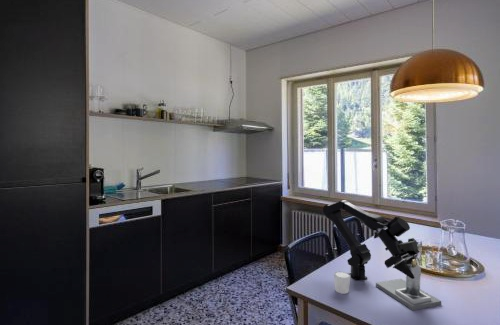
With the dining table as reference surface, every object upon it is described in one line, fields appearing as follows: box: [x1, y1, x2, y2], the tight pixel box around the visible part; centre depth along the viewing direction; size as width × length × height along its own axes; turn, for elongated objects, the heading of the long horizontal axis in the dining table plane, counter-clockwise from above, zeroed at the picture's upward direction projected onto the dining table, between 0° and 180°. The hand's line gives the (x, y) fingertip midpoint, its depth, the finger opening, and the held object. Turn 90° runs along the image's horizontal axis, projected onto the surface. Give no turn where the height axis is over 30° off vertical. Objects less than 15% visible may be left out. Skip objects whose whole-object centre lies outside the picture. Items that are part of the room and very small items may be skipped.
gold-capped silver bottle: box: [405, 259, 422, 296], centre depth 115 cm, size 5×5×14 cm
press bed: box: [375, 278, 442, 311], centre depth 120 cm, size 20×14×3 cm
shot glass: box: [333, 271, 352, 295], centre depth 123 cm, size 7×7×7 cm
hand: (416, 276), depth 114 cm, fingers closed on gold-capped silver bottle, 5 cm apart
